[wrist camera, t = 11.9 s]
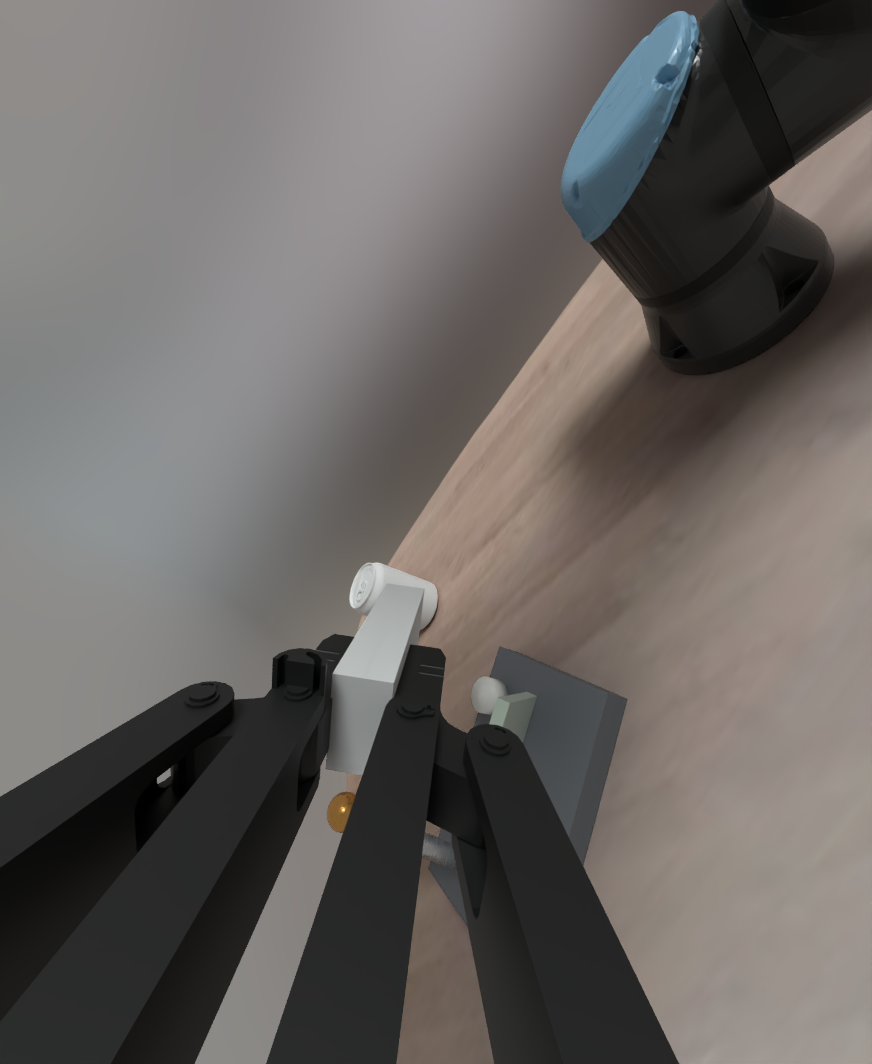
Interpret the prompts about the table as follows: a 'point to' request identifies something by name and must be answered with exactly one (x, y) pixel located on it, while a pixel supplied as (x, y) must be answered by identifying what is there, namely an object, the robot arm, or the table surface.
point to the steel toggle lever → (432, 845)
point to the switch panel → (557, 747)
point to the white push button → (487, 694)
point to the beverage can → (374, 581)
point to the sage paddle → (514, 712)
